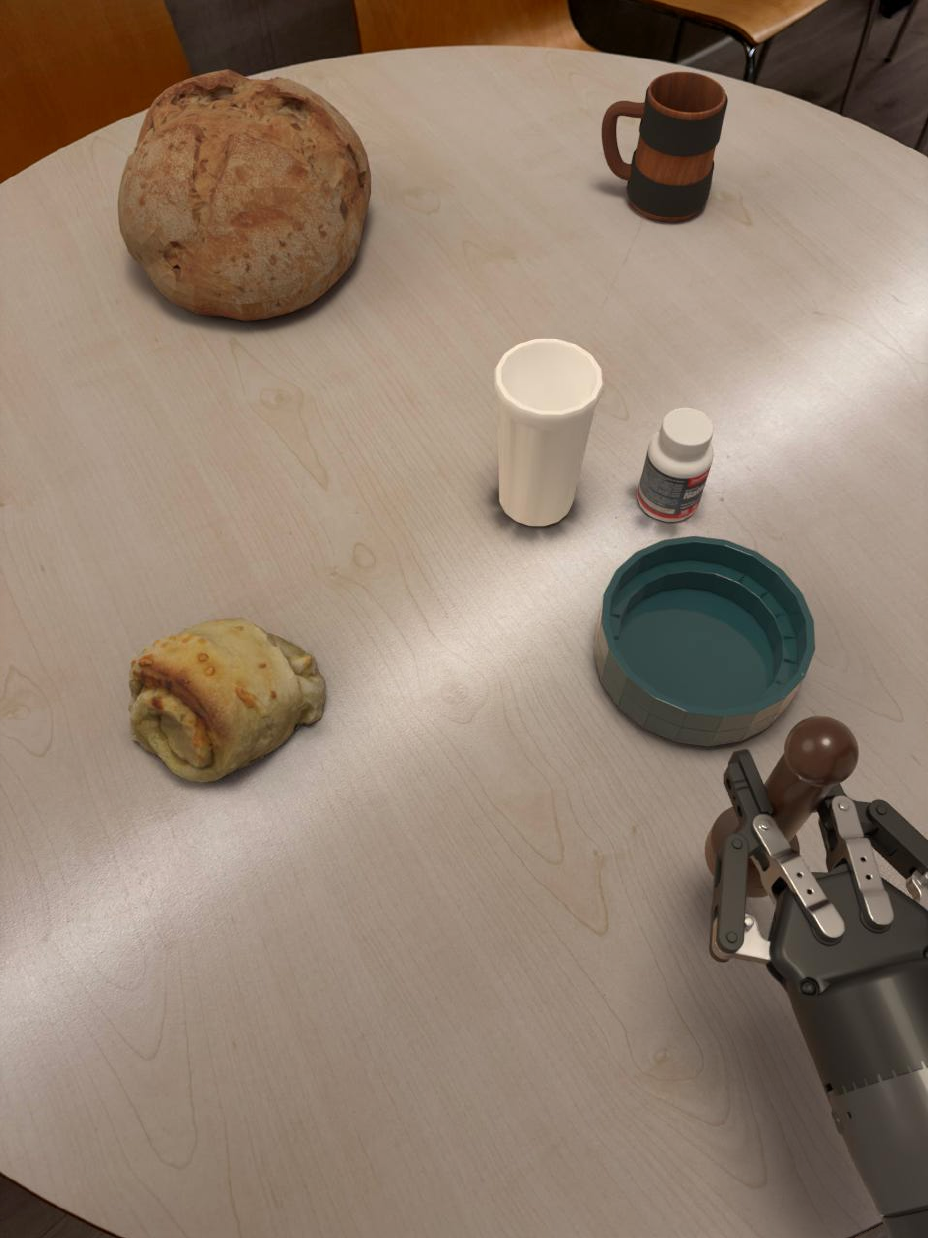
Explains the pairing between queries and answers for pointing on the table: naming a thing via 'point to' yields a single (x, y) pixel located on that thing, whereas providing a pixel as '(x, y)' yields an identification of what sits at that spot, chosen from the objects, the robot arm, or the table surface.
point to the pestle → (795, 785)
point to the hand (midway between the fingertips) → (766, 750)
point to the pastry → (221, 697)
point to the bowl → (702, 640)
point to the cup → (543, 426)
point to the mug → (669, 144)
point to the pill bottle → (677, 465)
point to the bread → (244, 195)
